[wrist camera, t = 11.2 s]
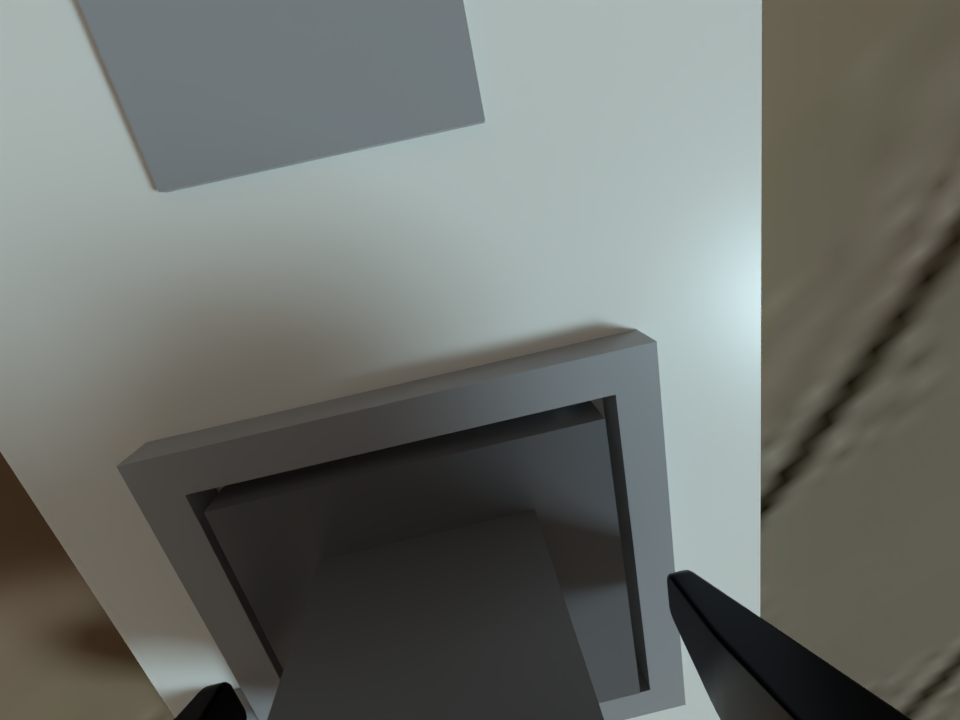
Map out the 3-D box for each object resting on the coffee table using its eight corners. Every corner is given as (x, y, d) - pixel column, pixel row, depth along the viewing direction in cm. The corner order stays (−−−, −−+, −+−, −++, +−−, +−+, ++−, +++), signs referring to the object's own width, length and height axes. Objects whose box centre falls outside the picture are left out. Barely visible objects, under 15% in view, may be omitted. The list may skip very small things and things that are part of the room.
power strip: (-516, -665, 5) (-1647, -1703, 2) (652, -868, 5) (882, -2009, 3) (320, 827, 15) (294, 969, 12) (720, 727, 15) (783, 842, 13)
